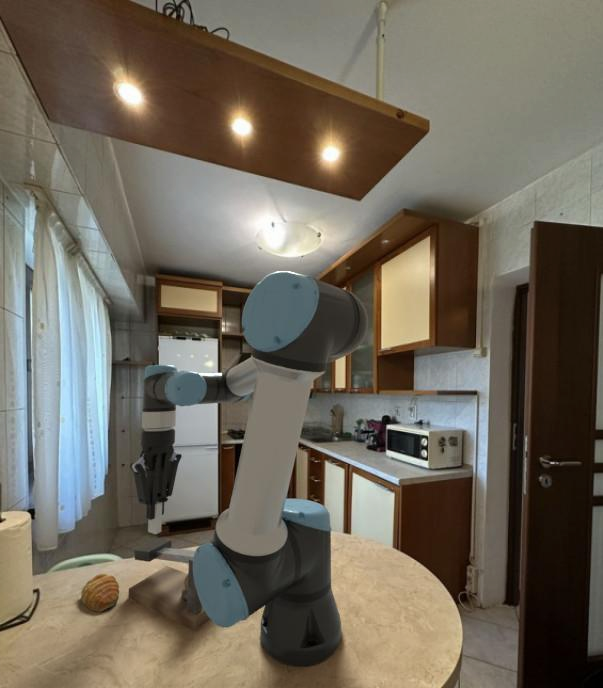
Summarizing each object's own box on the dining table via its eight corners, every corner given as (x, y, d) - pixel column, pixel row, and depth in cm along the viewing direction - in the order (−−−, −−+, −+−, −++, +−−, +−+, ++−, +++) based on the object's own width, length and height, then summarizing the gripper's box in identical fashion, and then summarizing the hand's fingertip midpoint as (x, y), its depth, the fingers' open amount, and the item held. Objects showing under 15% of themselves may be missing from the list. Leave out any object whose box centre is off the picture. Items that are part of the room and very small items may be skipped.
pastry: (127, 602, 70) (128, 583, 71) (91, 620, 65) (92, 599, 66) (111, 585, 76) (112, 567, 77) (77, 599, 71) (78, 580, 72)
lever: (222, 559, 70) (221, 545, 71) (201, 573, 65) (200, 558, 65) (157, 551, 79) (156, 539, 80) (134, 563, 74) (134, 550, 75)
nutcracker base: (229, 599, 71) (231, 543, 72) (195, 630, 62) (197, 565, 63) (166, 574, 80) (168, 525, 81) (128, 598, 71) (131, 542, 72)
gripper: (170, 425, 87) (166, 518, 84) (123, 431, 75) (117, 540, 72) (190, 426, 83) (187, 524, 80) (145, 433, 72) (139, 547, 69)
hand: (154, 531), depth 76 cm, fingers closed
